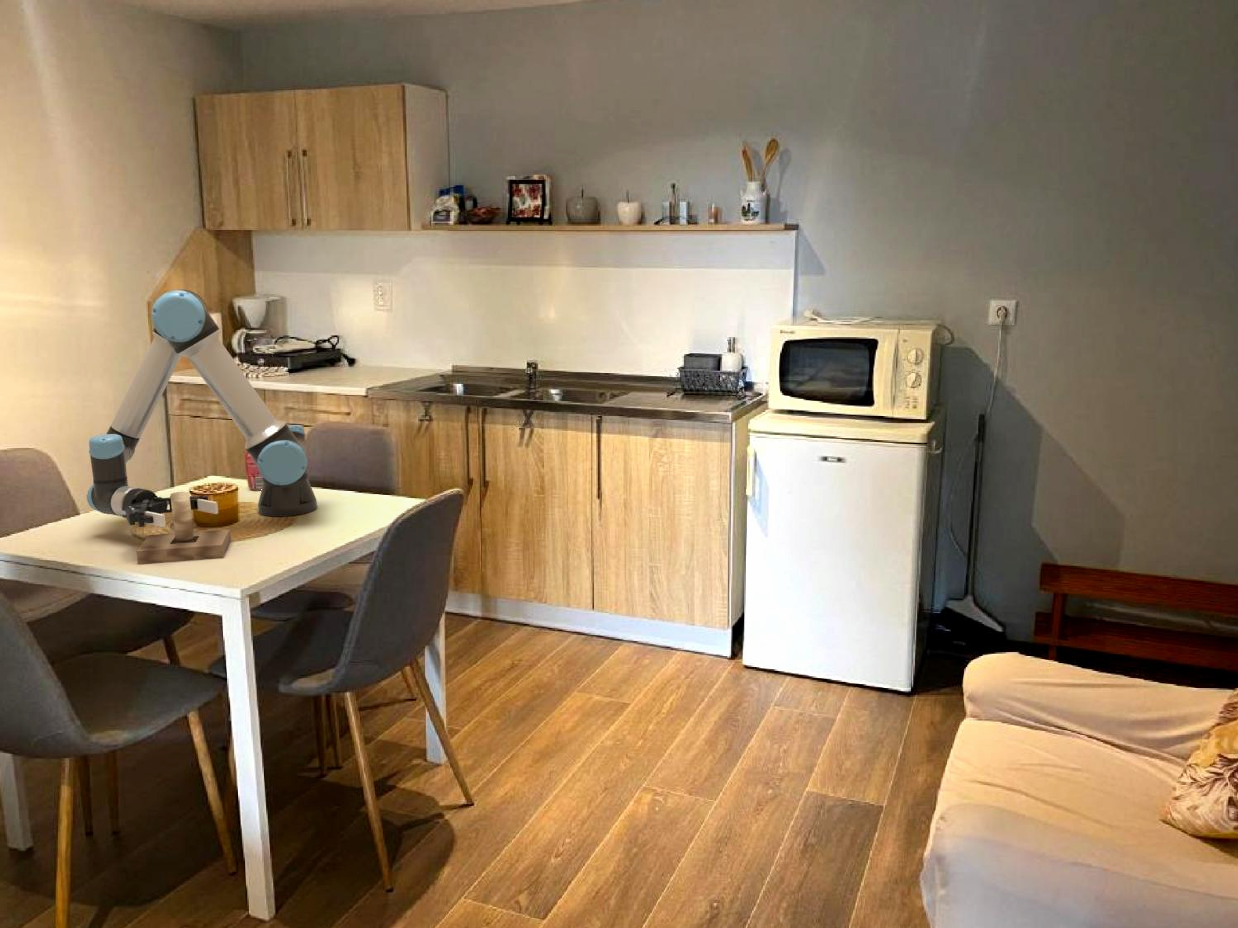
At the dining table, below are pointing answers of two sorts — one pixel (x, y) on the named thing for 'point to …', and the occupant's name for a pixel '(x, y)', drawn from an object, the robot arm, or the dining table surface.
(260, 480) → the soda can
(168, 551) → the board
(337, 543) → the dining table surface
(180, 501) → the peg
